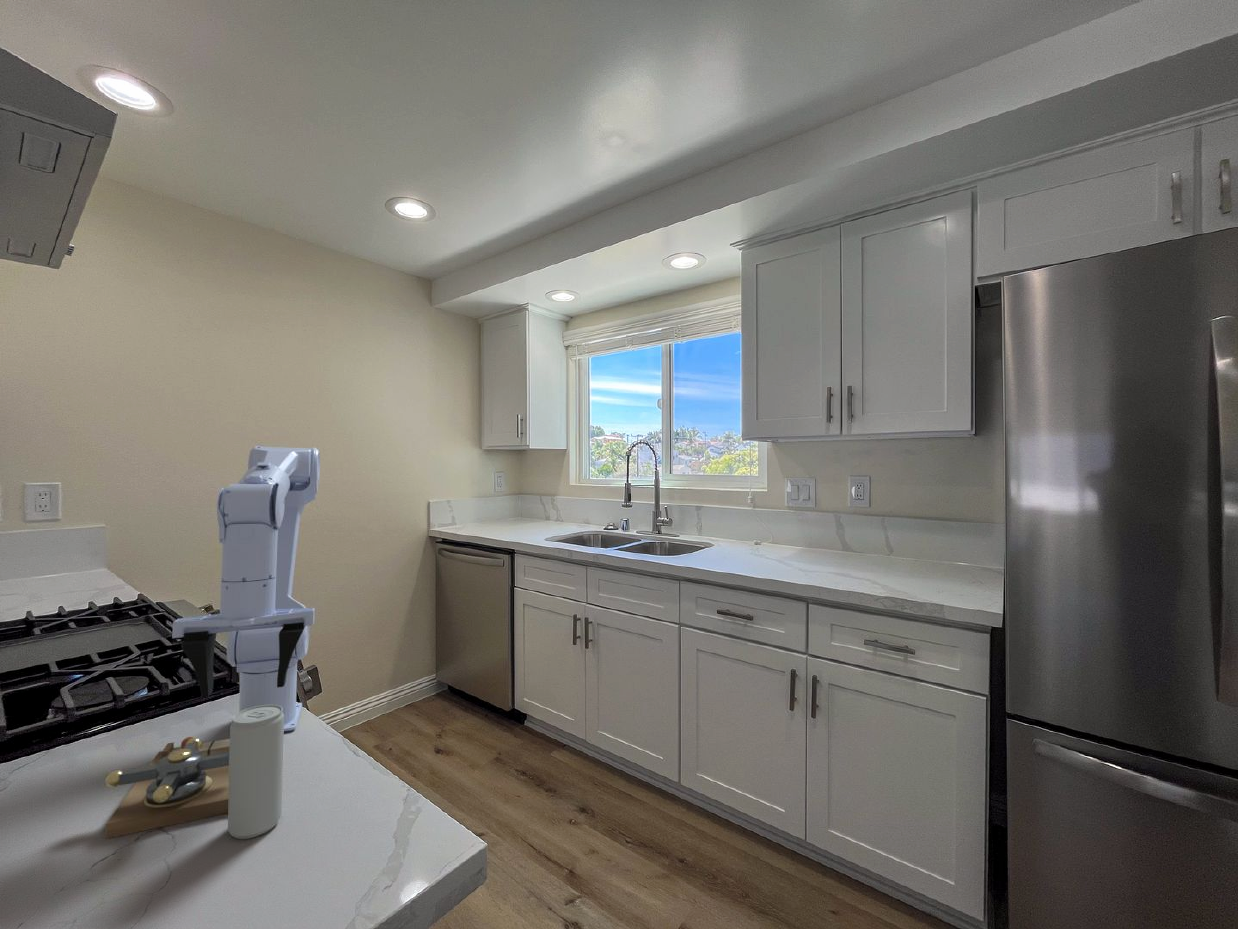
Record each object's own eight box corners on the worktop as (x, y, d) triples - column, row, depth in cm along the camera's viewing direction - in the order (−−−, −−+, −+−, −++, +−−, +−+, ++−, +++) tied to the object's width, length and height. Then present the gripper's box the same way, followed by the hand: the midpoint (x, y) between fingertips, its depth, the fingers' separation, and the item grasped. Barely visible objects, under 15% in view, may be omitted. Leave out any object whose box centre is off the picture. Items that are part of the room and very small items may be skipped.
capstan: (128, 771, 64) (129, 739, 64) (256, 749, 70) (257, 719, 70) (76, 837, 53) (78, 797, 53) (234, 804, 58) (235, 768, 58)
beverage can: (254, 845, 55) (257, 725, 55) (215, 838, 56) (218, 721, 56) (292, 816, 59) (294, 706, 60) (255, 810, 60) (258, 702, 61)
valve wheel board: (158, 763, 70) (159, 734, 70) (268, 744, 75) (268, 717, 75) (105, 838, 55) (106, 802, 55) (245, 809, 60) (246, 775, 61)
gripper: (166, 587, 61) (160, 711, 60) (312, 579, 67) (309, 690, 66) (184, 579, 67) (179, 691, 66) (317, 572, 74) (314, 674, 73)
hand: (245, 689), depth 67 cm, fingers open, 7 cm apart
